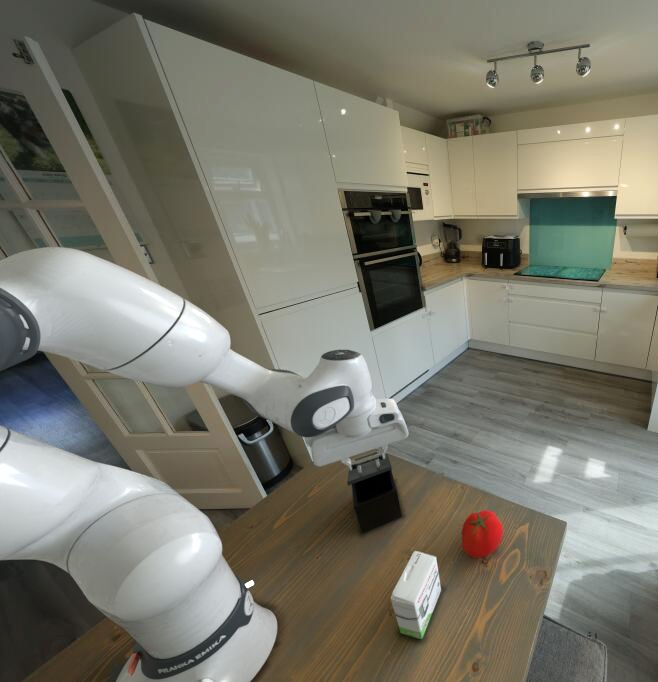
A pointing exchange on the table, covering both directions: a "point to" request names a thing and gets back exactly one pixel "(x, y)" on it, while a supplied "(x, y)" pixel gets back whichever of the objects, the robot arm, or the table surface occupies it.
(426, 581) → the ink box
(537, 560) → the table surface
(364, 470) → the bin lid
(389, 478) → the trash bin
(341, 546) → the table surface
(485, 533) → the tomato
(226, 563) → the robot arm
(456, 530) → the table surface
